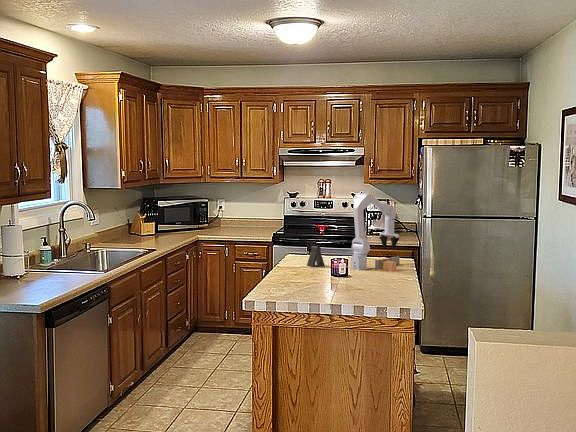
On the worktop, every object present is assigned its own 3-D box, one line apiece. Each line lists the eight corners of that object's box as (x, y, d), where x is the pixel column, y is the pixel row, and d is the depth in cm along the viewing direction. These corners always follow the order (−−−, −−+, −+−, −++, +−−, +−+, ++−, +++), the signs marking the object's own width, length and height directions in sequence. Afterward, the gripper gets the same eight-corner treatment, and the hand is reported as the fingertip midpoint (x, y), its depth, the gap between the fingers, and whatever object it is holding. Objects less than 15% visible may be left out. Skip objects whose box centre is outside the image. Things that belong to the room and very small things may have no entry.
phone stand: (312, 267, 367) (312, 247, 366) (306, 265, 372) (306, 246, 372) (324, 266, 372) (324, 246, 371) (319, 264, 377) (319, 245, 376)
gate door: (378, 267, 366) (378, 260, 365) (377, 267, 366) (377, 260, 366) (392, 264, 375) (392, 258, 375) (390, 264, 376) (391, 257, 376)
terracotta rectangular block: (391, 271, 356) (392, 262, 355) (383, 269, 360) (383, 261, 359) (395, 270, 358) (396, 261, 358) (387, 269, 363) (387, 260, 362)
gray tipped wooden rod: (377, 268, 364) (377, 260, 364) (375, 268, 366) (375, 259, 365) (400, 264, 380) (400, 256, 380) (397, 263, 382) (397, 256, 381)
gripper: (402, 226, 375) (402, 249, 376) (385, 225, 387) (385, 246, 388) (394, 227, 371) (394, 250, 372) (377, 225, 383) (377, 247, 384)
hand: (389, 248), depth 380 cm, fingers open, 7 cm apart
